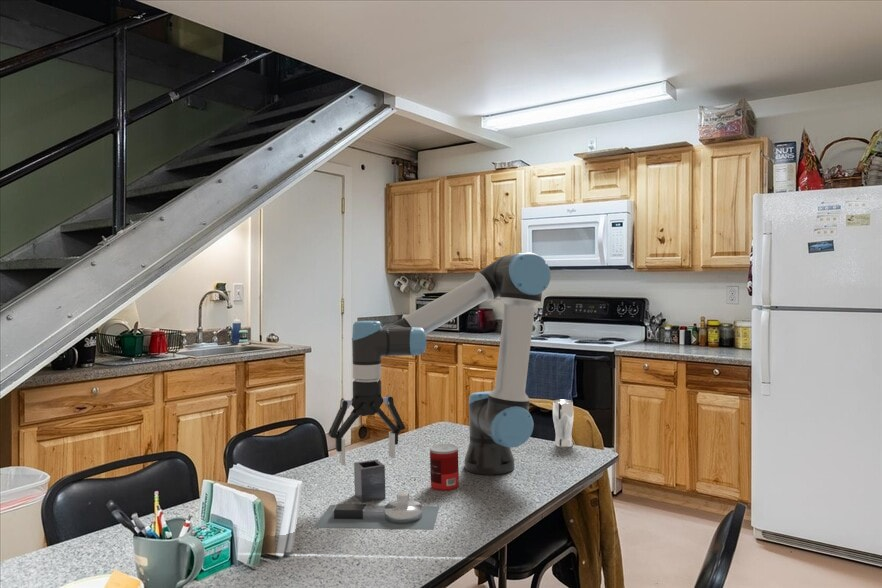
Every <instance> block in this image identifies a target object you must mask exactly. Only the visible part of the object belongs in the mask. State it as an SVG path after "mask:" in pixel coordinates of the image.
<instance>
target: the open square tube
mask: <svg viewBox="0 0 882 588" xmlns="http://www.w3.org/2000/svg"><path fill="white" fill-rule="evenodd" d="M353 468H354V469H353V470H354V471H353V473H354V474H353V475H354V476H353V477H354V478H353V479H354V496H355V497H356V498H357V499H358V501H359V502H360V504H366V503H370V502H374V501H375V502H376V501H381V500H386V468H385V464H384V463H382V462H381V461H379V460H378V459H372V460H371V459H370V460H365V461H358V462H354V463H353Z"/></svg>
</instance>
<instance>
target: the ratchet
mask: <svg viewBox="0 0 882 588" xmlns="http://www.w3.org/2000/svg"><path fill="white" fill-rule="evenodd" d="M336 505H337V506H335V508H334V509H333V510H332V518H334V519H385V520H386V521H387V522H389V523H393V524H410V523H414V522H417V521H419V520H420V519H421V518H422V506H423V505H422V504H421V503H420V502H418V501H415V500H411V499H410V491H398V492H397V494H396V500H395V501H391V502H388V503H387V504H386V505H384V506H385V507H381V506H382V505H381V506H366V505H367V503H337V504H336Z"/></svg>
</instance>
